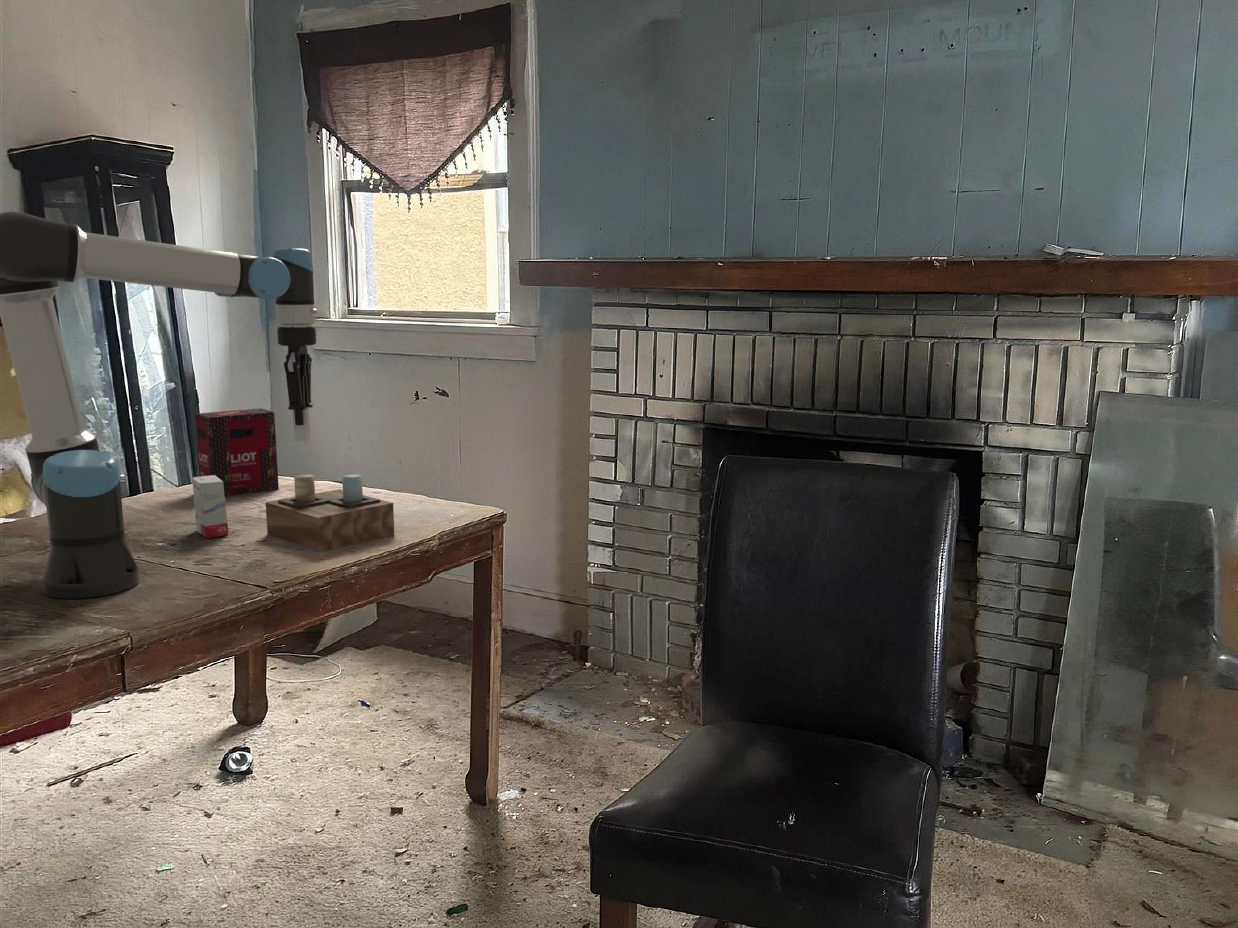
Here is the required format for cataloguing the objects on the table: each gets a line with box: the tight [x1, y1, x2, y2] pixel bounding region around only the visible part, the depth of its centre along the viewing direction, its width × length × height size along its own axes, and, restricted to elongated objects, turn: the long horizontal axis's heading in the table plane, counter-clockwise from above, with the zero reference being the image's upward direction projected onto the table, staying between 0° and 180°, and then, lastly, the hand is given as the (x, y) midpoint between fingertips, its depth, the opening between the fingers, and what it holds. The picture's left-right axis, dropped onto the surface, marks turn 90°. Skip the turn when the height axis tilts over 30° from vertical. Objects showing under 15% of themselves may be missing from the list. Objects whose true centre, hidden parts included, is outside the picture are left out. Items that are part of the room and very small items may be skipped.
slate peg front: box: [341, 474, 364, 503], centre depth 214 cm, size 4×4×8 cm
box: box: [194, 407, 280, 498], centre depth 255 cm, size 16×9×20 cm, turn 130°
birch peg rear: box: [293, 474, 316, 504], centre depth 213 cm, size 4×4×8 cm
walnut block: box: [265, 488, 395, 553], centre depth 215 cm, size 18×20×8 cm
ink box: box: [191, 475, 230, 539], centre depth 215 cm, size 9×5×12 cm, turn 33°
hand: (302, 439), depth 211 cm, fingers closed
